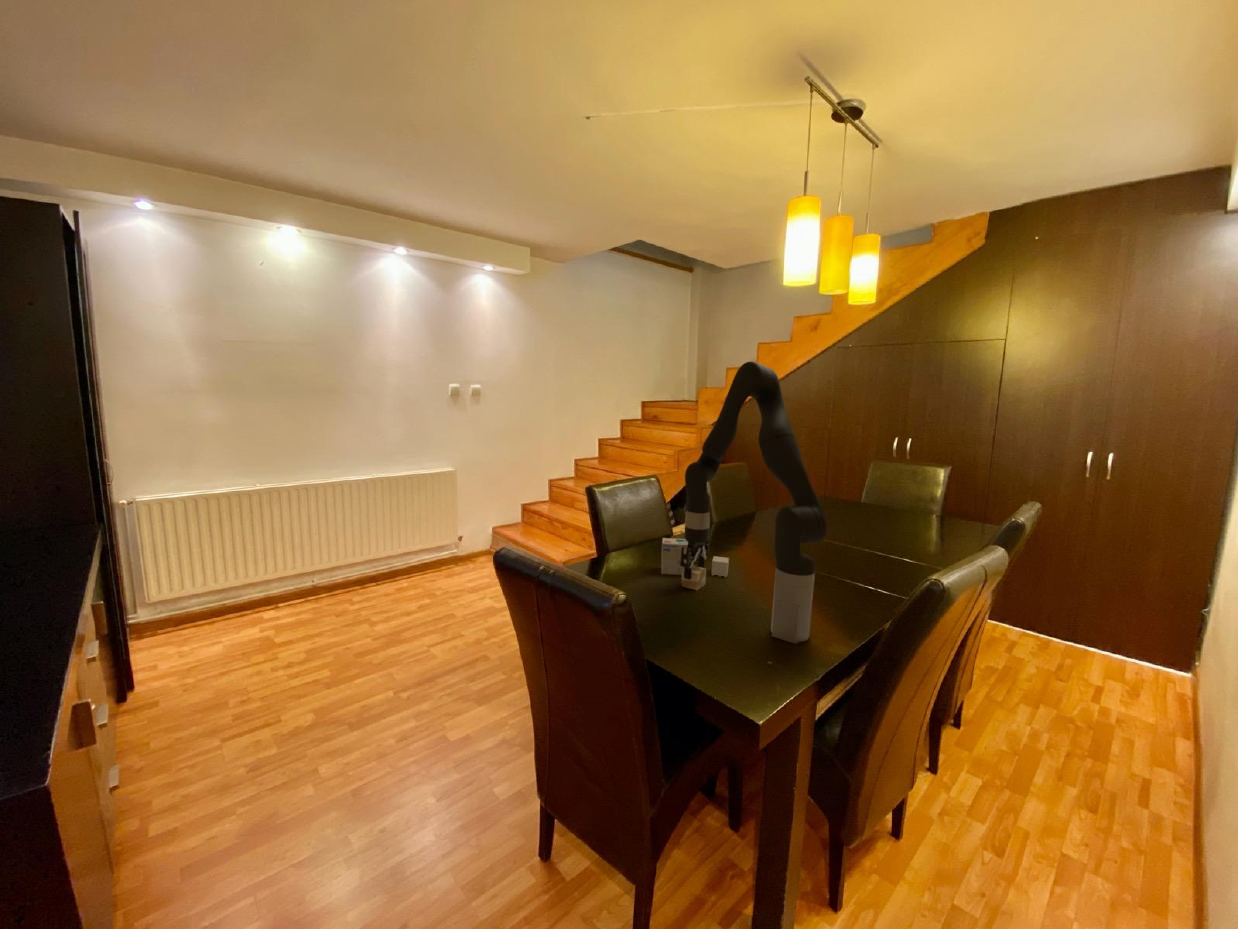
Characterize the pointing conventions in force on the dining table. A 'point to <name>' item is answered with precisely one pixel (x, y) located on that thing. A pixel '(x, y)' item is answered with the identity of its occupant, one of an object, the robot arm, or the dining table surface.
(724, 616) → the dining table surface
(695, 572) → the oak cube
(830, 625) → the dining table surface
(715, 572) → the grey block
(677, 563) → the light bulb box
